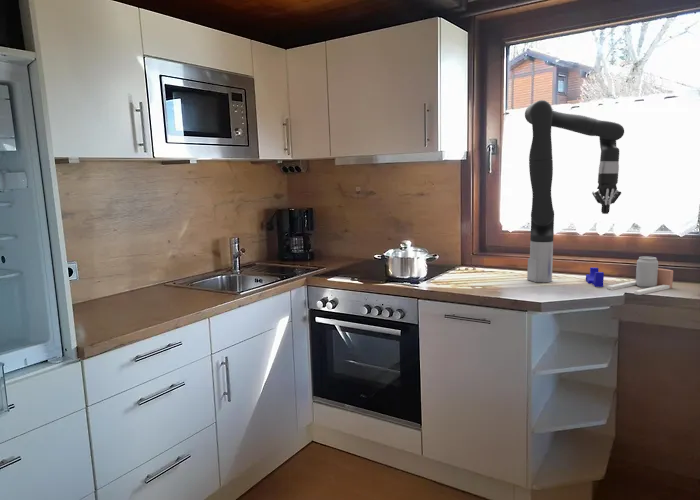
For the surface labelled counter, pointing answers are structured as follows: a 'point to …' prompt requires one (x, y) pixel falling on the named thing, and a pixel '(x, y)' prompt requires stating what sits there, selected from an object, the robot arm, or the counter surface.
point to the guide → (662, 283)
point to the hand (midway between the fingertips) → (605, 213)
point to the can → (646, 272)
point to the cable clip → (595, 277)
